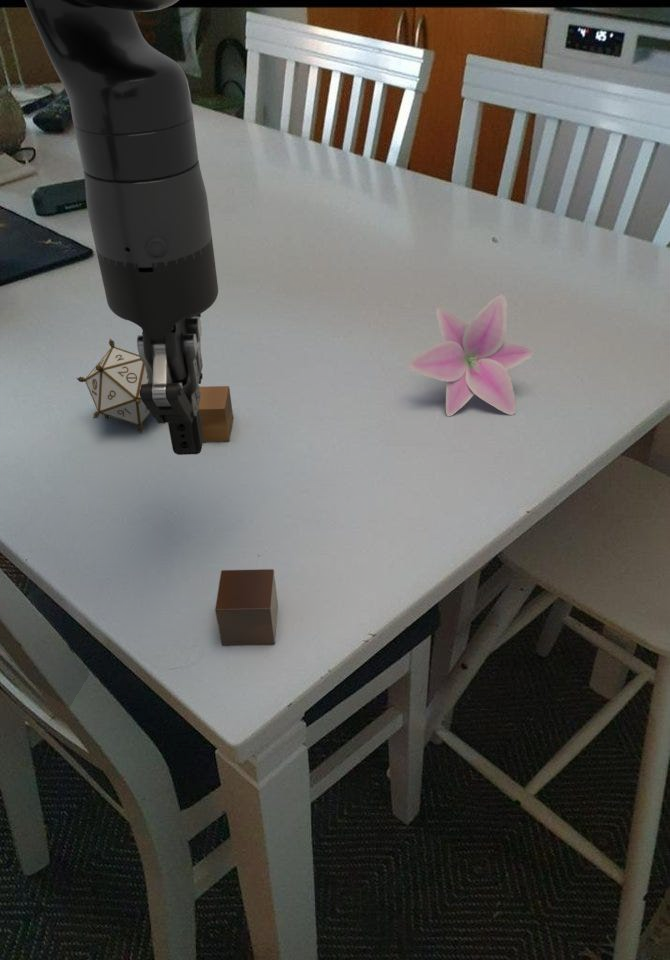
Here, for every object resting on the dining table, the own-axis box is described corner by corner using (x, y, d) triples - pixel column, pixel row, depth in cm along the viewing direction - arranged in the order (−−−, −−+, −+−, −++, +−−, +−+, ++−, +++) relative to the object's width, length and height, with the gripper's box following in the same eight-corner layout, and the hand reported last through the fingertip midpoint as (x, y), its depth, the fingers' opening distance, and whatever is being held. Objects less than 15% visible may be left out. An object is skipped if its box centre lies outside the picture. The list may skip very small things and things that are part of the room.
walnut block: (221, 645, 61) (214, 610, 58) (227, 605, 64) (221, 569, 61) (274, 644, 60) (270, 608, 58) (278, 604, 64) (273, 568, 61)
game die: (159, 442, 87) (205, 379, 82) (99, 459, 80) (145, 391, 74) (110, 381, 88) (152, 315, 83) (47, 393, 81) (88, 321, 76)
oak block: (189, 442, 80) (183, 409, 78) (195, 419, 84) (189, 386, 81) (229, 441, 80) (224, 408, 78) (233, 418, 83) (229, 385, 81)
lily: (388, 408, 86) (407, 362, 77) (425, 323, 90) (447, 271, 81) (493, 452, 85) (524, 411, 76) (525, 365, 90) (557, 316, 81)
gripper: (115, 200, 58) (154, 404, 69) (71, 280, 47) (125, 505, 58) (220, 197, 58) (243, 401, 69) (199, 277, 47) (229, 502, 58)
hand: (188, 449), depth 63 cm, fingers closed
